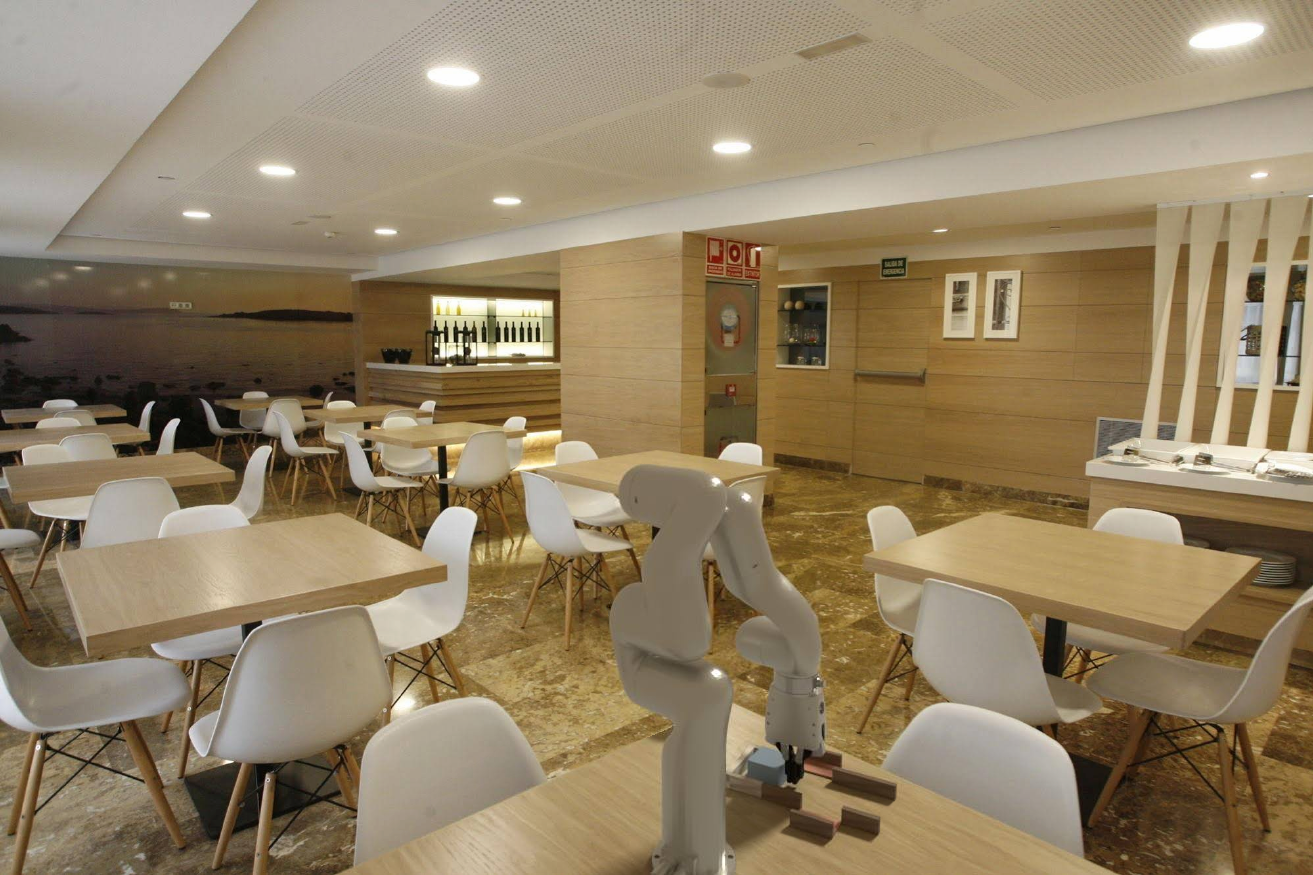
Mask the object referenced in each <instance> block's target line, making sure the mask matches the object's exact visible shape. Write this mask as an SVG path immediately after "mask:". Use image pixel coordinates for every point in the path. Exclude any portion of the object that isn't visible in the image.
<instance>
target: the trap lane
mask: <svg viewBox="0 0 1313 875" xmlns="http://www.w3.org/2000/svg"><path fill="white" fill-rule="evenodd" d="M761 746H762V745H759V744H754V743H751V744H750V745H749V746H748V747H747V748H746V749H745V751H744V752H743V753H742V754H740V756H739V757H738V758H737V759H736V760H735V761H734V762H733V764H732V765H730V766H729V768H728V769H726V789H731V790H733V791H737V792H740V793H744V794H747V795H750V796H752V797H756V798H759V799H763V800H766V801H769V802H772V803H774V804H778V805H781V806H785V807H788V808H791V809H790V811H789V826H790V827H793V828H796V829H799V830H802V831H806V832H808V833H812V834H815V835H819V836H821V837H825V838H827V839H831V840H832V839H833V838H834V836H835V835H836V833H837V832H838V830H839V828H840V826H841V824H843V825H847V826H848V827H852V828H855V829H859V830H861V831H862V830H863V831H865V832H868V833H872V834H876V835H880V832H881V816H879V815H877V814H876V815H875V814H873V813H869V812H867V811H863V810H859V809H856V808H853V807H849V806H845V805H843V806H842V807H841V811H840V812H841V813H840V814H841V816H840V818H841V820H838V819H835V818H831V817H828V816H825V815H823V814H822V815H821V814H818V813H816V812H812V811H809V810H806V809H802V808H803V793H802V792H799V791H796V790H793V789H789V788H786V787H783V786H781V787H780V786H776V785H773V784H770V783H766V782H763V781H760V780H756V779H753V778H750V777H748V776H747V775H746V776H745V775H743V774H744V772H746V771H747V770H748V759H749V758H750V757H751V756H752V755H753V754H754V753H755V752H756V751H757V750H758V749H759V748H760V747H761ZM804 772H807V773H811V774H814V775H818V776H821V777H824V778H827V779H832V780H831V781H832V783H834V784H838V785H840V786H841V785H842V786H845V787H848V788H851V789H855V790H859V791H863V792H866V793H868V794H872V795H876V796H879V797H883V798H886V799H889V800H892V801H893V800H894V801H896V799H897V792H898V791H897V790H898V788H897V787H898V784H897V783H896V782H892V781H889V780H886V779H883V778H879V777H875V776H871V775H867V774H863V773H861V772H857V771H853V770H850V769H846V768H843V753H840V752H835V751H832V750H828V749H825V754H824V755H823V756H822V757H817V756H810V757H809V758H807V759H806V760H804Z"/></svg>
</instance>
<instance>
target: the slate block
mask: <svg viewBox="0 0 1313 875" xmlns="http://www.w3.org/2000/svg"><path fill="white" fill-rule="evenodd" d="M760 746H761V747H760V748H759V749H758V750H757V751H756V752H755V753H754V754H753V755H752V756H751V757H750V758H749V759H748V768H747V777H750V778H753V779H756V780H760V781H763V782H766V783H770V784H773V785H776V786H780V787H783V785H784V784H785V783H787V775H785V760H784V759H783V758H782V754H781V752H780V751H779V750H778V749H775V748H771V747H768V746H765V745H760Z"/></svg>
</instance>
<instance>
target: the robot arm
mask: <svg viewBox="0 0 1313 875" xmlns="http://www.w3.org/2000/svg"><path fill="white" fill-rule="evenodd" d="M617 492H618V495H617V496H618V501H619V505H620V506H621V509H622V510H623V512H624V513H625V514H626V515H627V516H628V517H629V518H630V519H632V520H634V521H636V522H640V523H643V524H646V525H649V526H652V527H655V528H658V529H659V531H658V532H657V533H656V535H655V536H654V538H653V540H651V543H650V544H649V545H648V546H647V549H645V551H644V554H643V556H642V561H641V565H640V573H641V574H640V576H641V581H642V582H640V581H639V582H631V583H629V584H627V585H625V586H624V587H623V588H621V590H619V592H617V594H616V595H615V598H614V599H613V601H612V605H611V608H610V613H609V618H608V619H609V620H608V621H609V623H608V624H609V626H608V627H609V633H610V638H611V642H612V647H613V651H614V656H615V661H616V665H617V666H616V667H617V670H618V674H619V678H620V683H621V685H622V688H623V690H624V693H625V695H626V696H627V697H628V699H629V700H630V701H631V702H632V703H634V704H636V705H637V706H639V707H641V708H644V709H645V710H648V711H650V712H653V713H654V714H657V715H659V716H662V718H666V719H667V720H670V721H671V722H672V724H673V730H672V731H671V732H670V734H669V735H668V736H667V737H666V739H665V740H664V741H663V742H664V743H663V745H662V749H661V840H660V841H659V842H658V843H657V844H656V845H655V846H654V848H653V851H652V855H651V867H652V871H651V872H650V874H649V875H734V874H735V871H736V868H737V856H736V853H735V851H734V849H733V848H732V846H731V845H730V844H729V843H728V842H727V839H726V838H727V835H726V833H727V787H726V771H727V741H728V740H727V739H728V738H727V737H728V728H729V722H730V717H731V712H732V707H733V703H734V694H735V693H734V684H733V682H732V680H731V677H730V676H729V674H728V673H727V672H726V671H725V669H723V668H721V667H720V666H718V665H717V664H715V663H713V662H711V661H709V660H706V659H703V658H704V656H705V655H707V653H708V652H709V650H710V647H711V645H712V640H713V638H712V637H713V636H712V635H713V632H712V623H711V616H710V611H709V610H710V609H709V605H708V604H709V603H708V600H707V594H706V593H707V592H706V588H705V583H704V576H703V558H704V555H705V551H706V549H707V547H708V545H709V544H710V547H711V550H712V551H713V555H714V558H715V561H716V564H717V567H718V571H719V573H720V576H721V579H722V582H723V585H724V586H725V588H726V589H727V591H729V593H731V594H732V595H733V596H735V597H736V598H737V599H738V600H740V601H742V602H743V603H744V604H745V605H747V606H749V607H750V608H752V609H754V610H755V611H757V612H758V613H760V614H762V615H757V616H754V617H750V618H749V619H747V620H745V621H744V622H742V624H741V625H740V626H739V628H737V631H736V634H735V636H734V638H735V639H734V643H735V648H736V650H737V653H738V654H739V655H740V656H741V657H742V658H743V659H745V660H747V661H749V662H751V663H754V664H758V665H760V666H763V667H767V668H771V669H773V681H772V682H771V683H770V685H769V690H768V694H767V702H766V708H765V719H764V732H765V739H764V740H765V741H766V742H767V743H768V744H770V745H772V746H775V747H776V750H778V751H780V752H781V754H782V758H783V759H784V760H785V775H787V781H786V783H788V784H792V785H794V786H796V785H798V783H799V782H800V780H803V778H804V775H805V771H804V760H806V759H807V758H809V757H810V756H817V757H822V756H823V755H824V754H825V750H826V748H825V747H826V746H825V741H826V739H827V737H828V736H827V735H828V726H827V725H828V723H827V722H828V721H827V709H826V703H825V702H826V701H825V697H824V696H825V695H824V691H823V688H824V689H825V687H826V685H827V684H826V683H827V681H826V679H822V678H821V677H820V672H819V666H820V665H821V661H822V656H823V642H822V636H821V632H820V628H819V623H820V622H819V617H818V615H817V614H816V613H815V612H814V610H813V608H812V606H811V605H810V603H809V602H808V600H807V599H806V598H805V597H804V596H803V595H802V593H800V591H799V590H798V589H797V587H795V586H794V584H793V583H792V582H791V581H790V580H789V579H788V578H787V577H786V576H785V575H784V574H783V573H782V572H781V571H780V570H779V569H778V568H777V567H776V565H775V563H774V560H773V555H772V552H771V548H770V545H769V543H768V539H767V535H766V532H765V528H764V526H763V522H762V519H761V516H760V513H759V510H758V507H757V504H756V503H757V502H755V499H754V498H753V497H752V495H750V494H749V493H748V492H746V491H744V490H743V489H742V490H741V489H739V488H735V487H732V486H731V487H729V486H726V485H725V484H724V482H723V480H721V479H720V478H719V477H718V476H716V475H714V474H712V473H709V472H706V471H703V470H699V469H691V468H684V467H674V466H667V465H657V464H651V463H644V464H642V463H641V464H638V465H635V466H633V467H632V468H630V469H629V470H627V471H626V472H625V474H624V475H623V476H622V478H621V479H620V482H619V484H618V490H617ZM795 747H796V751H795ZM795 752H796V753H795Z"/></svg>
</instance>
